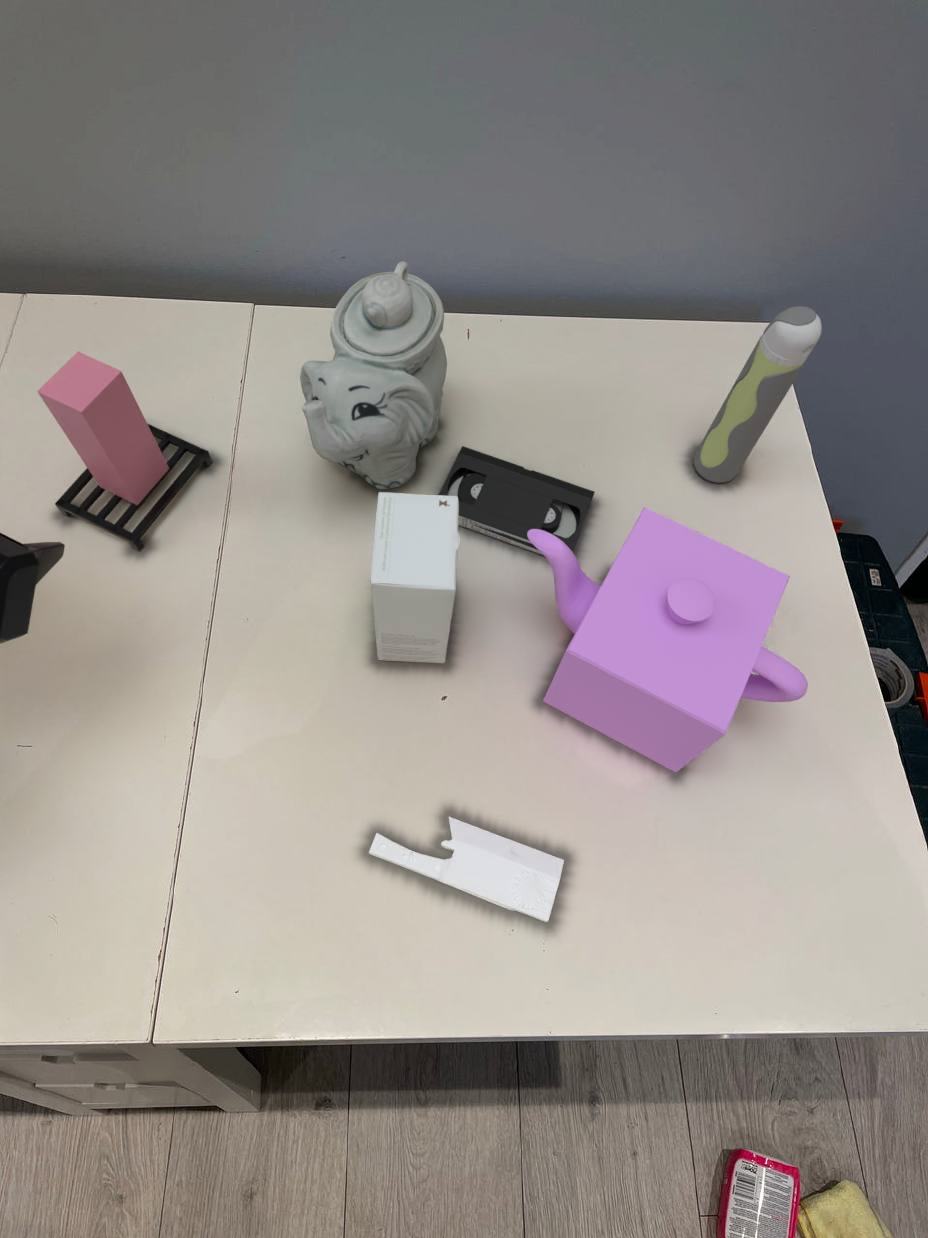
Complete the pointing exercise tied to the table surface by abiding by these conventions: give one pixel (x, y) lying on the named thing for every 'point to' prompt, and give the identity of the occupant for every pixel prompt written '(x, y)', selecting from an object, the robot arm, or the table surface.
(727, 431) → the spray bottle
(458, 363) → the table surface
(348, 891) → the table surface
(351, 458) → the elephant cookie jar
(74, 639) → the table surface
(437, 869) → the butcher knife
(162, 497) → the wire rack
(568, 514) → the vhs tape
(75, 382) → the pink box
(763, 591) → the teapot
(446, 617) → the cosmetic box
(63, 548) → the robot arm
